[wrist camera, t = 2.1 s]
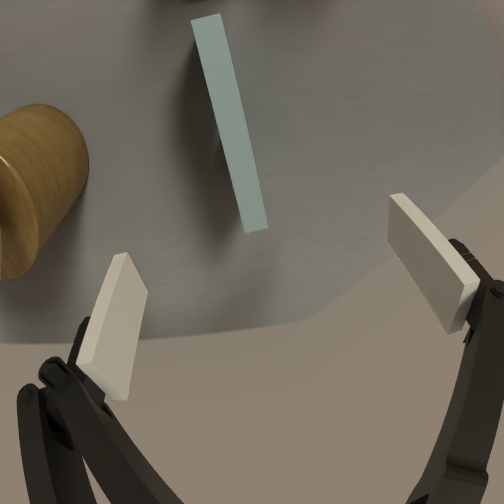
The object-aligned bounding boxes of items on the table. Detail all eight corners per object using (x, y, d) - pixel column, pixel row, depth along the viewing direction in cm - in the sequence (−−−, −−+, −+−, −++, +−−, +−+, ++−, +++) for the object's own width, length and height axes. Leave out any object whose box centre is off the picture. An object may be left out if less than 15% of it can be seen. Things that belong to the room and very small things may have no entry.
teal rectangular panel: (238, 184, 28) (245, 233, 22) (199, 29, 20) (190, 20, 13) (256, 180, 28) (268, 228, 22) (220, 24, 20) (220, 13, 13)
